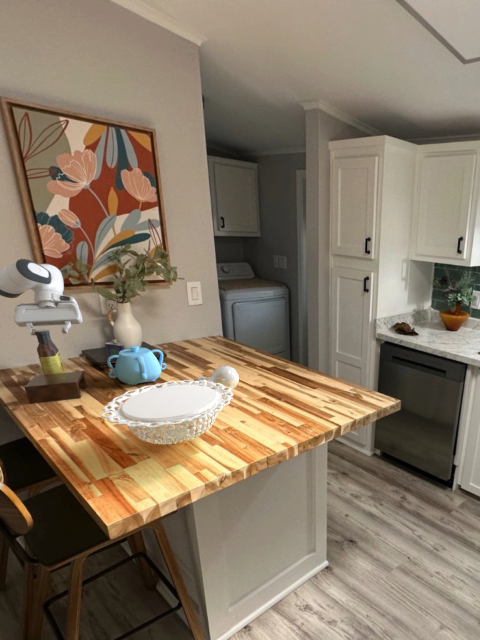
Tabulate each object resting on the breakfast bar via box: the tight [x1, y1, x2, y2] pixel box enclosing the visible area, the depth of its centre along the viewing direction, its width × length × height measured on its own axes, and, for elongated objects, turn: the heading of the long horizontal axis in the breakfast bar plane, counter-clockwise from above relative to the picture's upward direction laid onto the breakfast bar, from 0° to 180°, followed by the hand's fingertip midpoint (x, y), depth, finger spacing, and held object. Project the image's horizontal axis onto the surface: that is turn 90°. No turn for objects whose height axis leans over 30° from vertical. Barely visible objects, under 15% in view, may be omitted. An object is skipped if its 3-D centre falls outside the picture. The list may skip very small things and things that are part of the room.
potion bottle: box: [193, 365, 240, 391], centre depth 149 cm, size 9×10×15 cm
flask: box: [104, 338, 126, 359], centre depth 173 cm, size 9×3×11 cm, turn 74°
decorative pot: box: [106, 345, 167, 386], centre depth 156 cm, size 16×16×14 cm
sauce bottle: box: [34, 328, 66, 375], centre depth 150 cm, size 6×6×20 cm
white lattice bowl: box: [100, 379, 235, 446], centre depth 113 cm, size 32×32×13 cm
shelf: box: [23, 370, 88, 405], centre depth 142 cm, size 14×12×6 cm
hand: (49, 333), depth 153 cm, fingers open, 8 cm apart
